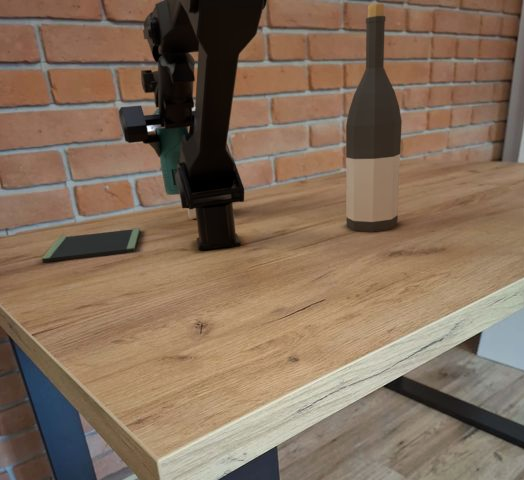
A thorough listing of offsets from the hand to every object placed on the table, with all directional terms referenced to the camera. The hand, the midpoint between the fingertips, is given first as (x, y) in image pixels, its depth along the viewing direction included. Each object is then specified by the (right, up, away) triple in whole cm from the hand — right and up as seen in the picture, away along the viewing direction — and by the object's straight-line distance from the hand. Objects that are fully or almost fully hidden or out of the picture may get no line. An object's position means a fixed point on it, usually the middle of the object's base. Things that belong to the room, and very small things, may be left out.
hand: (174, 153), depth 98 cm
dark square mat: (-11, -20, -13) cm, 27 cm away
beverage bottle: (+1, -8, +3) cm, 9 cm away
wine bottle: (+35, -18, -15) cm, 42 cm away
